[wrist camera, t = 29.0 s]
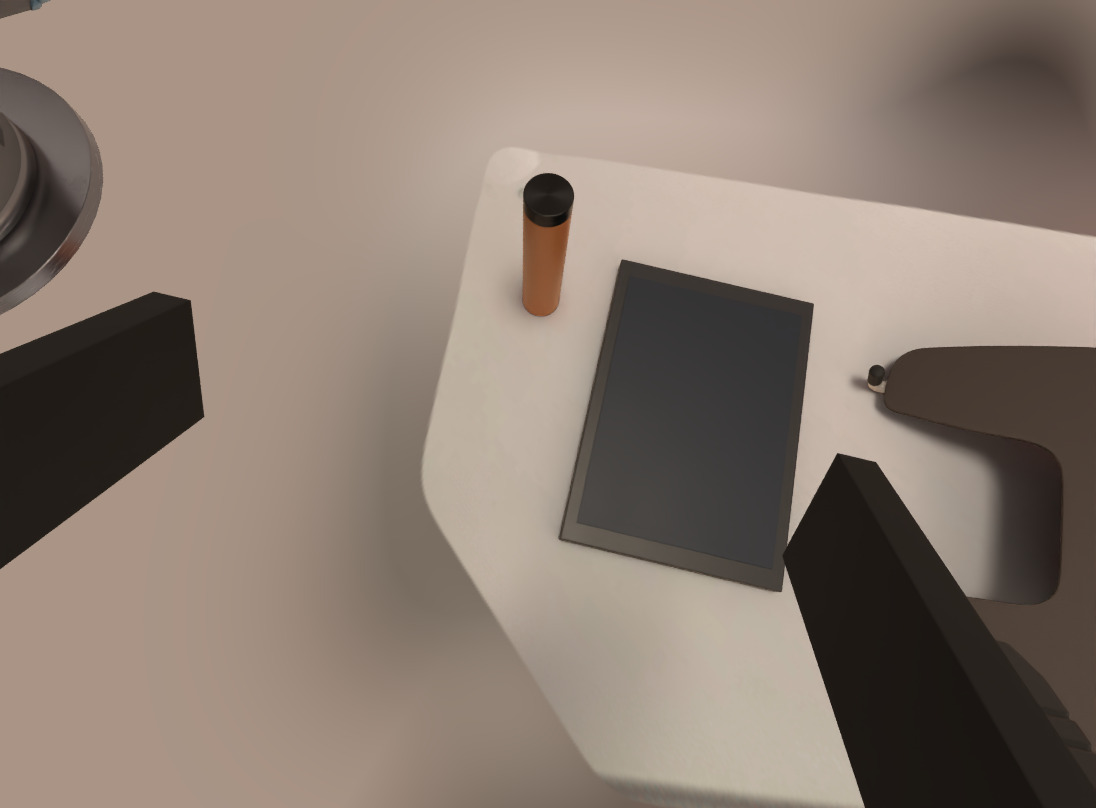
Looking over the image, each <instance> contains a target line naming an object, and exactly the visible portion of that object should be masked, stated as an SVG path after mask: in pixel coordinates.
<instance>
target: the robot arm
mask: <svg viewBox="0 0 1096 808" xmlns="http://www.w3.org/2000/svg"><path fill="white" fill-rule="evenodd" d="M48 1H50V0H0V18H4V17H7V16H10V15H14V14H18V13H21V12H24V11H28V10H37V9H39V8H40V7H41V6H42V4H43V3H45V2H48ZM36 173H37V167H36V159H35V155H34V151H33V149H32V146H31V144H30V142H29V140H28V138H27V137H26V136H25V134H24V133H23V131H22V130H21V129H20V128H19V127H18V126H17V125H16V124H15V123H13V122H12V121H11V120H10V119H9V118H8V117H7V116H5V115H4V114H3V113H2V112H1V111H0V241H1V240H2V239H3V238H4V237H5V236H6V235H7V234H8V233H9V232H10V231H11V230H12V229H13V228H14V226H15V225H16V224H17V222H18V221H19V220H20V218H21V217H22V215H23V214H24V212H25V210H26V208H27V206H28V204H29V202H30V200H31V197H32V195H33V191H34V188H35V183H36ZM203 417H204V411H203V403H202V394H201V385H200V377H199V368H198V360H197V351H196V342H195V334H194V325H193V317H192V308H191V301H190V300H187V299H183V298H178V297H174V296H169V295H165V294H161V293H157V292H152V293H149V294H147V295H144V296H142V297H139V298H137V299H134V300H132V301H130V302H127V303H125V304H122V305H120V306H117V307H115V308H112V309H110V310H107V311H105V312H102V313H100V314H98V315H95V316H93V317H90V318H88V319H85V320H83V321H80V322H78V323H75V324H73V325H71V326H68V327H65V328H63V329H61V330H58V331H56V332H53V333H51V334H48V335H46V336H43V337H41V338H38V339H36V340H33V341H31V342H29V343H26V344H23V345H21V346H19V347H16V348H14V349H11V350H9V351H6V352H4V353H1V354H0V569H1V568H2V567H4V566H5V565H6V564H7V563H9V562H10V561H12V560H13V559H14V558H16V557H17V556H18V555H20V554H21V553H22V552H24V551H25V550H26V549H28V548H29V547H31V546H32V545H33V544H34V543H36V542H37V541H39V540H40V539H41V538H42V537H44V536H45V535H46V534H48V533H49V532H51V531H52V530H53V529H55V528H56V527H57V526H58V525H60V524H61V523H63V522H64V521H65V520H67V519H68V518H69V517H71V516H72V515H73V514H75V513H76V512H77V511H79V510H80V509H81V508H82V507H84V506H85V505H87V504H88V503H89V502H91V501H92V500H93V499H95V498H96V497H97V496H99V495H100V494H101V493H103V492H104V491H106V490H107V489H108V488H109V487H111V486H112V485H114V484H115V483H116V482H118V481H119V480H120V479H122V478H123V477H124V476H126V475H127V474H128V473H130V472H131V471H132V470H134V469H135V468H136V467H138V466H139V465H140V464H142V463H143V462H144V461H146V460H147V459H148V458H150V457H151V456H152V455H154V454H155V453H157V452H158V451H159V450H160V449H162V448H163V447H164V446H166V445H167V444H169V443H170V442H171V441H173V440H174V439H175V438H176V437H178V436H179V435H181V434H182V433H183V432H184V431H186V430H187V429H189V428H190V427H191V426H193V425H194V424H195V423H197V422H198V421H199V420H201V419H202V418H203ZM782 557H783V560H784V563H785V566H786V569H787V572H788V575H789V578H790V581H791V584H792V587H793V590H794V593H795V596H796V599H797V602H798V605H799V608H800V611H801V614H802V617H803V620H804V623H805V627H806V630H807V633H808V636H809V639H810V642H811V645H812V648H813V651H814V654H815V657H816V660H817V663H818V666H819V669H820V672H821V675H822V678H823V681H824V684H825V687H826V690H827V693H828V696H829V699H830V702H831V706H832V709H833V712H834V715H835V718H836V721H837V724H838V727H839V730H840V733H841V736H842V739H843V742H844V745H845V748H846V751H847V754H848V757H849V760H850V763H851V766H852V769H853V772H854V775H855V778H856V782H857V785H858V788H859V791H860V794H861V797H862V800H863V803H864V806H865V808H1096V753H1095V752H1092V749H1091V746H1092V744H1091V743H1090V741H1089V740H1088V738H1087V737H1086V736H1085V734H1084V733H1083V731H1082V730H1081V729H1080V727H1079V726H1078V724H1077V723H1076V722H1075V721H1072V720H1070V718H1069V715H1070V713H1069V712H1068V710H1067V709H1066V708H1065V706H1064V705H1063V703H1062V702H1061V701H1060V699H1059V698H1058V696H1057V695H1056V694H1055V692H1054V691H1053V689H1052V688H1051V686H1050V685H1049V684H1048V682H1047V681H1046V679H1045V678H1044V677H1043V676H1042V675H1041V674H1040V673H1039V672H1038V671H1037V670H1036V669H1035V668H1034V667H1033V666H1032V665H1031V664H1030V663H1029V662H1028V661H1026V660H1025V659H1024V658H1023V657H1022V656H1021V655H1020V654H1019V653H1018V652H1017V651H1016V650H1015V649H1014V648H1013V647H1012V646H1011V645H1010V644H1009V643H1006V642H1002V641H997V640H995V639H994V637H993V636H992V634H991V633H990V631H989V630H988V628H987V627H986V625H985V624H984V622H983V621H982V619H981V618H980V616H979V615H978V613H977V612H976V610H975V609H974V607H973V606H972V604H971V603H970V601H969V600H968V598H967V597H966V596H965V594H964V593H963V591H962V590H961V588H960V587H959V585H958V584H957V582H956V581H955V579H954V578H953V576H952V575H951V573H950V572H949V570H948V569H947V567H946V566H945V564H944V563H943V561H942V560H941V558H940V557H939V555H938V554H937V552H936V551H935V549H934V548H933V546H932V545H931V543H930V542H929V540H928V539H927V537H926V536H925V534H924V533H923V531H922V530H921V528H920V527H919V525H918V524H917V523H916V521H915V520H914V518H913V517H912V515H911V514H910V512H909V511H908V509H907V508H906V506H905V505H904V503H903V502H902V500H901V499H900V497H899V496H898V494H897V493H896V491H895V490H894V488H893V487H892V485H891V484H890V482H889V481H888V479H887V478H886V476H885V475H884V473H883V472H882V470H881V469H880V467H879V466H878V464H877V463H876V462H873V461H869V460H864V459H860V458H856V457H852V456H847V455H843V454H839V453H837V455H836V457H835V459H834V460H833V462H832V464H831V466H830V468H829V470H828V472H827V473H826V475H825V477H824V479H823V481H822V483H821V485H820V486H819V488H818V490H817V492H816V494H815V496H814V498H813V499H812V501H811V503H810V505H809V507H808V509H807V511H806V512H805V514H804V516H803V518H802V520H801V522H800V524H799V525H798V527H797V529H796V531H795V533H794V535H793V537H792V538H791V540H790V542H789V544H788V546H787V548H786V549H785V551H784V553H783V555H782Z"/></svg>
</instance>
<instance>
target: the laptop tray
mask: <svg viewBox="0 0 1096 808" xmlns="http://www.w3.org/2000/svg"><path fill="white" fill-rule="evenodd" d="M884 373H885V370H884V368H883V367H882V366H880V365H874V366H872V367H871V368H870V370H869V375H868V386H869V387H870V388H871V389H872V390H874V391H877V392H881V393H884V403H885V405H886V407H887V408H889V409H890V410H892V411H894V412H897V413H901V414H905V415H908V416H912V417H916V418H920V419H923V420H927V421H931V422H935V423H939V424H943V425H947V426H951V427H955V428H959V429H963V430H968V431H973V432H978V433H983V434H988V435H993V436H998V437H1004V438H1009V439H1015V440H1019V441H1024V442H1028V443H1031V444H1034V445H1037V446H1039V447H1041V448H1043V449H1045V450H1046V451H1048V452H1049V453H1050V454H1051V455H1052V456H1053V457H1054V458H1055V459H1056V461H1057V463H1058V465H1059V468H1060V472H1061V541H1060V564H1059V577H1058V584H1057V587H1056V590H1055V592H1054V593H1053V595H1052V596H1051V597H1050V598H1049V599H1048V600H1046V601H1044V602H1042V603H1039V604H1033V605H1021V604H1012V603H1005V602H998V601H992V600H985V599H978V598H971V597H967V598H968V600H969V601H970V603H971V604H972V606H973V607H974V609H975V610H976V612H977V613H978V615H979V616H980V618H981V619H982V621H983V622H984V624H985V625H986V627H987V628H988V630H989V631H990V633H991V634H992V636H993V637H994V639H995V640H997V641H1002V642H1006V643H1009V644H1010V645H1011V646H1012V647H1013V648H1014V649H1015V650H1016V651H1017V652H1018V653H1019V654H1020V655H1021V656H1022V657H1023V658H1024V659H1025V660H1026V661H1028V662H1029V663H1030V664H1031V665H1032V666H1033V667H1034V668H1035V669H1036V670H1037V671H1038V672H1039V673H1040V674H1041V675H1042V676H1043V677H1044V678H1045V679H1046V681H1047V682H1048V684H1049V685H1050V686H1051V688H1052V689H1053V691H1054V692H1055V694H1056V695H1057V696H1058V698H1059V699H1060V701H1061V702H1062V703H1063V705H1064V706H1065V708H1066V709H1067V710H1068V712H1069V713H1070V715H1069V718H1070V720H1072V721H1075V722H1076V723H1077V724H1078V726H1079V727H1080V729H1081V730H1082V731H1083V733H1084V734H1085V736H1086V737H1087V738H1088V740H1089V741H1090V743H1091V744H1092V746H1091V749H1092V752H1095V753H1096V348H1090V347H1057V346H969V347H937V348H921V349H916V350H912V351H910V352H907V353H906V354H904V355H903V356H901V357H900V358H899V359H898V360H897V361H896V362H895V364H894V365H893V367H892V369H891V371H890V373H889V376H888V379H887V381H883V377H884Z"/></svg>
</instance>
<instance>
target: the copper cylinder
mask: <svg viewBox="0 0 1096 808" xmlns="http://www.w3.org/2000/svg"><path fill="white" fill-rule="evenodd" d="M573 201H574V192H573V189H572V186H571V185H570V183H569V182H568V181H567V180H566V179H564V178H563V177H561V176H559V175H556V174H552V173H544V174H540V175H537V176H535V177H533V178H532V179H531V180H530V181H529V182H528V183H527V184H526V186H525V188H524V192H523V304H524V306H525V308H526V309H527V310H528V311H529V312H530V313H532V314H534V315H537V316H546V315H549V314H551V313H552V312H554V311H555V310H556V308H557V306H558V304H559V298H560V291H561V284H562V277H563V270H564V264H565V257H566V250H567V243H568V236H569V229H570V222H571V215H572V208H573Z"/></svg>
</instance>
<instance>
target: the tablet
mask: <svg viewBox="0 0 1096 808" xmlns="http://www.w3.org/2000/svg"><path fill="white" fill-rule="evenodd" d="M813 307H814V304H813V303H808V302H804V301H800V300H795V299H791V298H787V297H782V296H778V295H774V294H770V293H765V292H761V291H757V290H752V289H748V288H744V287H739V286H735V285H731V284H726V283H722V282H718V281H713V280H709V279H705V278H700V277H696V276H692V275H687V274H683V273H679V272H674V271H670V270H666V269H661V268H657V267H653V266H649V265H644V264H640V263H636V262H631V261H627V260H621V263H620V266H619V271H618V275H617V280H616V284H615V289H614V293H613V298H612V302H611V307H610V311H609V316H608V320H607V325H606V329H605V334H604V338H603V343H602V347H601V352H600V356H599V361H598V365H597V370H596V374H595V379H594V383H593V388H592V392H591V397H590V401H589V406H588V410H587V415H586V419H585V424H584V429H583V433H582V438H581V442H580V447H579V451H578V456H577V460H576V465H575V469H574V474H573V478H572V483H571V487H570V492H569V496H568V501H567V505H566V510H565V514H564V519H563V523H562V528H561V532H560V537H559V539H560V540H563V541H567V542H571V543H575V544H580V545H584V546H588V547H592V548H596V549H600V550H604V551H609V552H613V553H617V554H621V555H625V556H629V557H633V558H638V559H642V560H646V561H650V562H654V563H658V564H662V565H667V566H671V567H675V568H679V569H683V570H687V571H691V572H696V573H700V574H704V575H708V576H712V577H716V578H720V579H725V580H729V581H733V582H737V583H741V584H745V585H749V586H754V587H758V588H762V589H766V590H770V591H774V592H782V585H783V576H784V568H785V563H784V560H783V557H782V555H783V553H784V551H785V549H786V548H787V541H788V532H789V523H790V514H791V505H792V496H793V487H794V478H795V469H796V460H797V451H798V442H799V433H800V424H801V415H802V406H803V397H804V388H805V379H806V370H807V361H808V352H809V343H810V334H811V325H812V316H813Z"/></svg>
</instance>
